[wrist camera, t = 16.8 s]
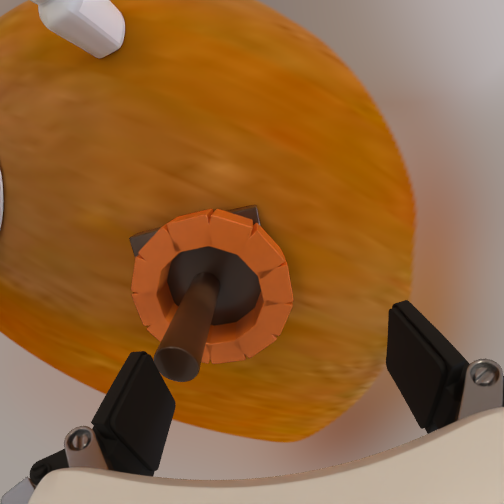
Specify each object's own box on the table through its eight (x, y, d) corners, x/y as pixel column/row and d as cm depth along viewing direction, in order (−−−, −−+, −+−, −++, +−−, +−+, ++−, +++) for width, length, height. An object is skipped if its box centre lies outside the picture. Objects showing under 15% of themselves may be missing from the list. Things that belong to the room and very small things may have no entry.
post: (173, 336, 22) (134, 426, 12) (136, 233, 19) (55, 285, 10) (280, 318, 21) (296, 417, 12) (256, 204, 19) (259, 241, 9)
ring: (171, 350, 20) (163, 369, 18) (127, 229, 18) (111, 238, 15) (296, 331, 20) (301, 350, 17) (272, 195, 17) (274, 199, 15)
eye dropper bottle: (140, 4, 14) (74, -74, 2) (118, 58, 15) (21, -4, 4) (98, 10, 13) (23, -48, 2) (77, 63, 15) (-21, 21, 3)
